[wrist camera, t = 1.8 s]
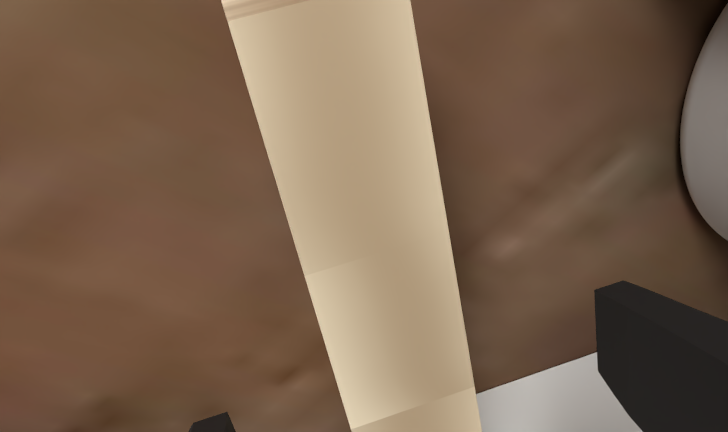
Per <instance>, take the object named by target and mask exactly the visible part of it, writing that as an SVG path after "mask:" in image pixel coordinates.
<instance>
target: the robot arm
mask: <svg viewBox="0 0 728 432" xmlns="http://www.w3.org/2000/svg"><path fill="white" fill-rule="evenodd" d="M594 292H595V316H596V339H597V363H598V372H599V373H600V375H601V376H602V378H603V379H604V381H605V382H606V384H607V385H608V387H609V388H610V390H611V391H612V393H613V394H614V396H615V397H616V398H617V400H618V401H619V403H620V404H621V405H622V407H623V408H624V410H625V411H626V412H627V414H628V415H629V416H630V418H631V419H632V420H633V421H634V422H635V423H636V424H637V426H638V427H639V428H640V429H641V430H642V431H643V432H728V322H727V321H724V320H722V319H719V318H717V317H714V316H711V315H709V314H706V313H704V312H701V311H699V310H697V309H694V308H692V307H689V306H687V305H684V304H682V303H679V302H677V301H674V300H672V299H670V298H667V297H665V296H662V295H660V294H657V293H655V292H652V291H650V290H647V289H645V288H642V287H640V286H637V285H634V284H632V283H629V282H626V281H620V282H617V283H614V284H611V285H608V286H605V287H602V288H599V289H596V290H594ZM189 432H235V429H234V427H233V424H232V422H231V420H230V417H229V415H228V413H227V412H225V413H222V414H219V415H216V416H213V417H210V418H207V419H204V420H201V421H198V422H195V423H193V425H192V426H191V428H190V430H189Z"/></svg>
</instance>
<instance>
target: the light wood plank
mask: <svg viewBox="0 0 728 432" xmlns="http://www.w3.org/2000/svg"><path fill="white" fill-rule="evenodd" d="M221 2H222V5H223V8H224V11H225V15H226V18H227V21H228V25H229V28H230V31H231V35H232V38H233V41H234V45H235V48H236V51H237V54H238V58H239V61H240V64H241V68H242V71H243V74H244V78H245V81H246V84H247V88H248V91H249V94H250V97H251V101H252V104H253V107H254V111H255V114H256V117H257V121H258V124H259V127H260V130H261V134H262V137H263V140H264V144H265V147H266V150H267V154H268V157H269V160H270V163H271V167H272V170H273V173H274V177H275V180H276V183H277V187H278V190H279V193H280V196H281V200H282V203H283V206H284V210H285V213H286V216H287V220H288V223H289V226H290V230H291V233H292V236H293V239H294V243H295V246H296V249H297V253H298V256H299V259H300V263H301V266H302V269H303V272H304V276H305V279H306V282H307V286H308V289H309V292H310V296H311V299H312V302H313V306H314V309H315V312H316V316H317V319H318V322H319V325H320V329H321V332H322V335H323V339H324V342H325V345H326V349H327V352H328V355H329V358H330V362H331V365H332V368H333V372H334V375H335V378H336V382H337V385H338V388H339V392H340V395H341V398H342V401H343V405H344V408H345V411H346V415H347V418H348V421H349V425H350V428H351V431H352V432H482V428H481V422H480V416H479V410H478V404H477V398H476V392H475V386H474V380H473V374H472V368H471V362H470V356H469V350H468V344H467V338H466V332H465V326H464V320H463V314H462V308H461V302H460V296H459V290H458V284H457V278H456V272H455V266H454V260H453V254H452V248H451V242H450V236H449V230H448V224H447V218H446V212H445V206H444V200H443V194H442V188H441V182H440V176H439V170H438V164H437V158H436V152H435V146H434V140H433V134H432V128H431V122H430V116H429V110H428V104H427V98H426V92H425V86H424V80H423V74H422V68H421V62H420V56H419V50H418V44H417V38H416V32H415V26H414V20H413V14H412V8H411V2H410V0H221Z"/></svg>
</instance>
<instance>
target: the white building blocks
mask: <svg viewBox="0 0 728 432" xmlns="http://www.w3.org/2000/svg"><path fill="white" fill-rule="evenodd" d="M476 398H477V404H478V410H479V416H480V422H481V428H482V432H643V431H642V430H641V429H640V428H639V427H638V426H637V424H636V423H635V422H634V421H633V420H632V419H631V418H630V416H629V415H628V414H627V412H626V411H625V410H624V408H623V407H622V405H621V404H620V403H619V401H618V400H617V398H616V397H615V396H614V394H613V393H612V391H611V390H610V388H609V387H608V385H607V384H606V382H605V381H604V379H603V378H602V376H601V375H600V373H599V372H598V363H597V352H596V353H593V354H590V355H587V356H584V357H582V358H579V359H576V360H573V361H570V362H567V363H564V364H561V365H559V366H556V367H553V368H550V369H547V370H544V371H541V372H538V373H536V374H533V375H530V376H527V377H524V378H521V379H518V380H515V381H513V382H510V383H507V384H504V385H501V386H498V387H495V388H492V389H490V390H487V391H484V392H481V393H478V394H476Z"/></svg>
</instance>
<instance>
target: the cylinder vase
mask: <svg viewBox="0 0 728 432" xmlns="http://www.w3.org/2000/svg"><path fill="white" fill-rule="evenodd" d="M680 151H681V161H682V168H683V173H684V178H685V181H686V185H687V188H688V190H689V193H690V196H691V198H692V200H693V202H694V204H695V206H696V207H697V209H698V211H699V212H700V214H701V215H702V217H703V218H704V219H705V221H706V222H707V223H708V224H709V225H710V226H711V227H712V228H713V229H714V230H715V231H716V232H717V233H718V234H719V235H720V236H722V237H723V238H724V239H726V240H727V241H728V3H727V5H726V6H725V8H724V9H723V11H722V13H721V14H720V16H719V17H718V19H717V21H716V22H715V24H714V26H713V28H712V30H711V31H710V33H709V35H708V37H707V39H706V41H705V43H704V45H703V48H702V50H701V52H700V54H699V57H698V59H697V62H696V64H695V67H694V70H693V73H692V76H691V79H690V82H689V85H688V89H687V93H686V97H685V102H684V107H683V113H682V120H681V132H680Z"/></svg>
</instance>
